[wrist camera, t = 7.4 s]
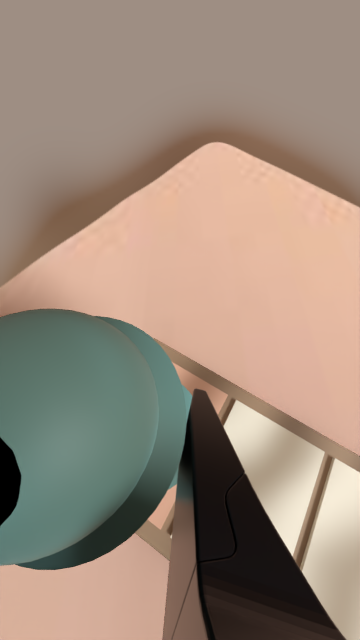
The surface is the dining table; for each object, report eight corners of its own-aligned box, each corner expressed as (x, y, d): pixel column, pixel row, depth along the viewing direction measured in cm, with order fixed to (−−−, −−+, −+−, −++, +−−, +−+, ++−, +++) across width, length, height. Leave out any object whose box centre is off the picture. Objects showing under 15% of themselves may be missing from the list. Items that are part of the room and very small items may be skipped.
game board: (444, 507, 15) (459, 511, 14) (415, 754, 11) (433, 779, 11) (155, 340, 20) (153, 336, 19) (65, 471, 16) (59, 474, 16)
